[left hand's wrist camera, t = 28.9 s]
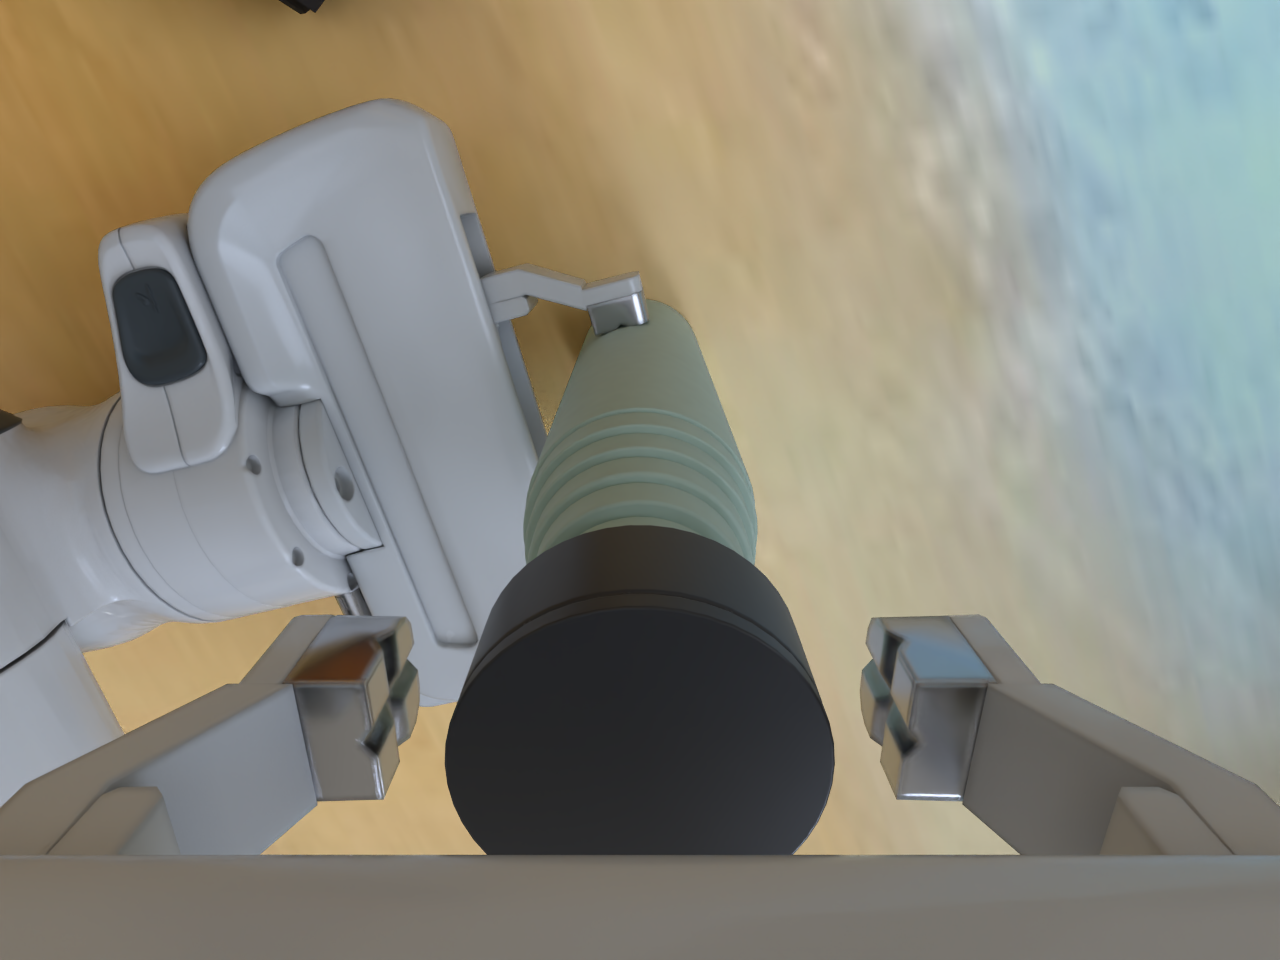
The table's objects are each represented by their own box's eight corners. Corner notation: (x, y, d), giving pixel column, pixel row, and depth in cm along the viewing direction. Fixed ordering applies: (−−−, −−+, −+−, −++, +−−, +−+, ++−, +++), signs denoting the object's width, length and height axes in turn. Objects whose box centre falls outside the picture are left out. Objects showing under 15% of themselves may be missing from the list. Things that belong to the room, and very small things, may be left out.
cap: (502, 494, 9) (465, 574, 7) (838, 554, 10) (887, 646, 8) (465, 764, 11) (427, 887, 9) (753, 807, 11) (778, 935, 9)
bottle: (566, 318, 29) (384, 625, 8) (681, 283, 28) (785, 517, 8) (603, 427, 30) (525, 905, 10) (711, 396, 30) (864, 830, 9)
